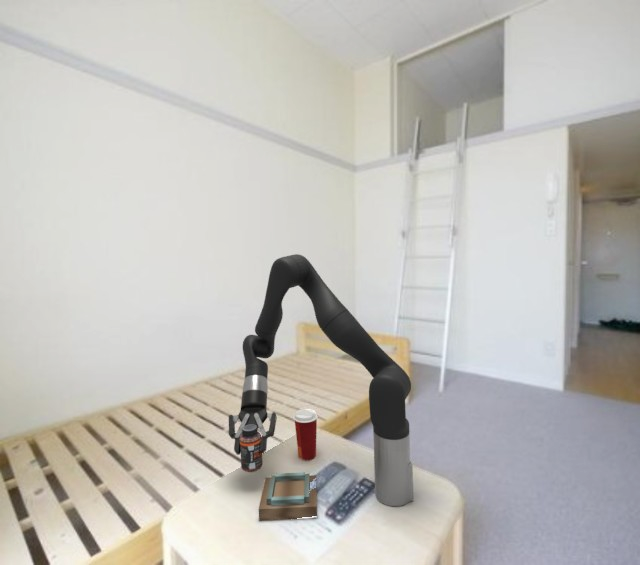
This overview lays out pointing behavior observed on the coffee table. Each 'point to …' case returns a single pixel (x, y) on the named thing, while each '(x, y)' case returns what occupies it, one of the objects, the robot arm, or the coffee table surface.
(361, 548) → the coffee table surface
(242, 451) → the supplement bottle
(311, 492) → the walnut foundation
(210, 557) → the coffee table surface
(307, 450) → the paper cup
